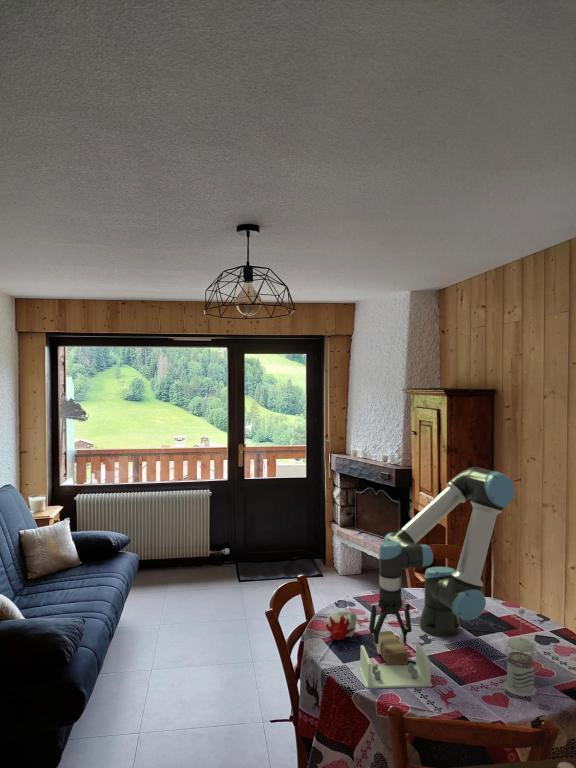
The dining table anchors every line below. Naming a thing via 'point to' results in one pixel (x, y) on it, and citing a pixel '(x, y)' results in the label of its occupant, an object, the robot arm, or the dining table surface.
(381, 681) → the shelf frame
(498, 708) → the dining table surface
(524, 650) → the french press
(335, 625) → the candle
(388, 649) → the brown long block
